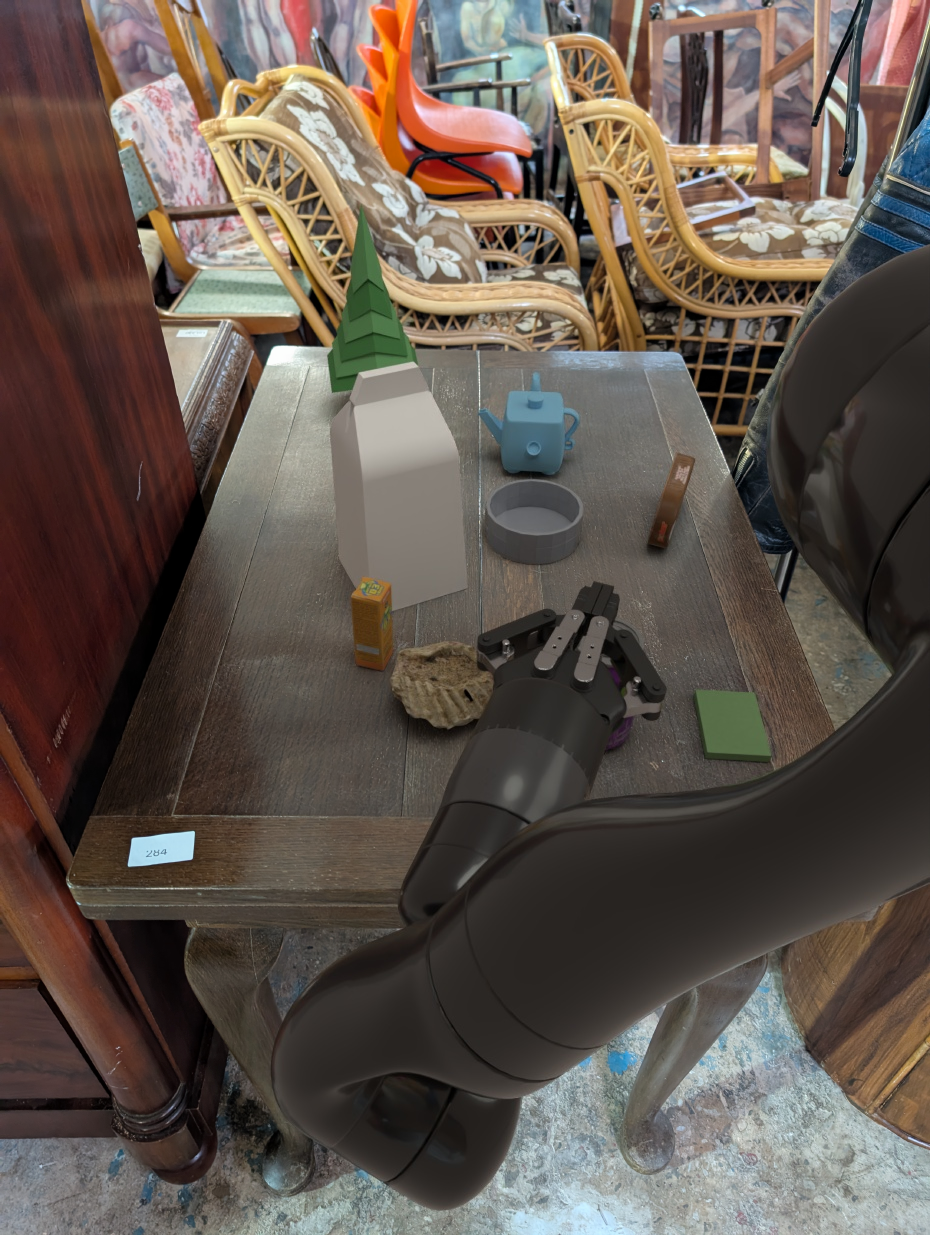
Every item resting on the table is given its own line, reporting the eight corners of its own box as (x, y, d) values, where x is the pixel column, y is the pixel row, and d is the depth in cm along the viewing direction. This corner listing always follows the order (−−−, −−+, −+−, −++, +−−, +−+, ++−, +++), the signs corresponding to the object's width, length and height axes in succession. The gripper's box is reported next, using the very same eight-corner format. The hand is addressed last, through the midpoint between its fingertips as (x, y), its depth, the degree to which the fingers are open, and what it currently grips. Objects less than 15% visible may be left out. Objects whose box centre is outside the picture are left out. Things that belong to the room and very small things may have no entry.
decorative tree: (351, 383, 132) (331, 184, 111) (439, 399, 128) (435, 195, 108) (312, 421, 122) (283, 211, 102) (406, 439, 119) (395, 225, 98)
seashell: (490, 752, 80) (509, 659, 83) (493, 735, 73) (514, 636, 77) (381, 728, 80) (405, 638, 84) (375, 710, 74) (401, 613, 78)
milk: (372, 617, 90) (350, 408, 72) (339, 559, 98) (312, 357, 80) (467, 588, 94) (469, 382, 76) (429, 535, 101) (422, 336, 84)
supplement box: (385, 673, 84) (379, 602, 77) (355, 666, 84) (346, 595, 78) (396, 651, 86) (391, 581, 79) (367, 645, 87) (359, 574, 80)
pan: (597, 548, 99) (602, 519, 96) (513, 575, 96) (515, 545, 92) (549, 499, 107) (551, 470, 104) (469, 521, 103) (469, 492, 100)
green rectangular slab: (768, 762, 75) (771, 755, 75) (705, 758, 76) (707, 752, 75) (752, 698, 81) (755, 692, 80) (693, 695, 81) (695, 689, 81)
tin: (664, 493, 108) (676, 438, 103) (687, 498, 108) (700, 443, 102) (642, 557, 98) (653, 500, 92) (667, 563, 97) (680, 506, 92)
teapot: (576, 497, 108) (584, 431, 101) (473, 492, 108) (474, 426, 101) (573, 430, 121) (580, 367, 114) (481, 426, 122) (482, 364, 115)
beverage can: (634, 755, 76) (655, 669, 68) (560, 754, 76) (572, 668, 68) (624, 699, 81) (643, 613, 73) (555, 698, 81) (565, 612, 73)
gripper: (650, 775, 40) (707, 574, 52) (414, 701, 44) (517, 528, 56) (629, 853, 46) (685, 654, 57) (419, 781, 49) (512, 607, 61)
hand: (602, 592), depth 57 cm, fingers closed
